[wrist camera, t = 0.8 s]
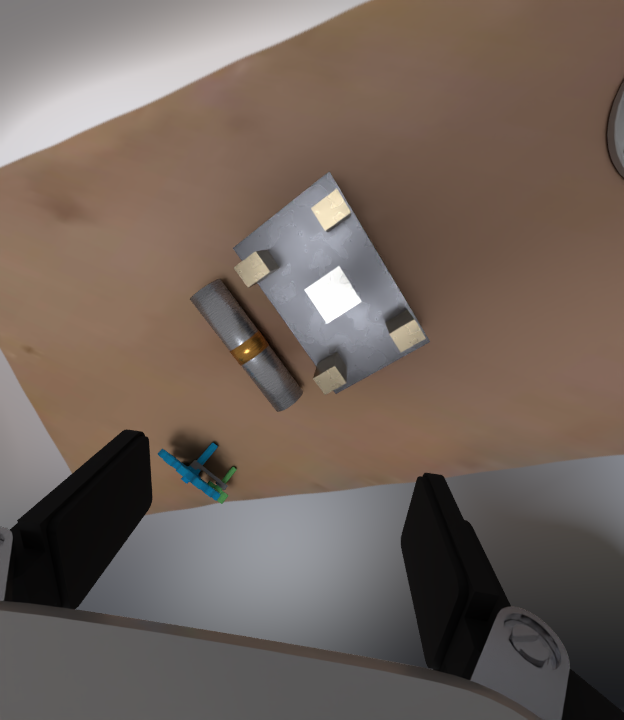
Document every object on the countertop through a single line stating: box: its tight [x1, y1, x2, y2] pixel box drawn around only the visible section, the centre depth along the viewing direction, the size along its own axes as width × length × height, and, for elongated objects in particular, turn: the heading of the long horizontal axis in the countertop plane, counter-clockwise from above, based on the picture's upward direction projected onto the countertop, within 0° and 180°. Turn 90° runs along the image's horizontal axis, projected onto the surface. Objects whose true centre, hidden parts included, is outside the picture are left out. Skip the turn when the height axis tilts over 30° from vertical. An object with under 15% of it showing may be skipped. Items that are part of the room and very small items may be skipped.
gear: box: [158, 442, 236, 504], centre depth 44 cm, size 11×6×10 cm
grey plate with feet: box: [233, 172, 430, 395], centre depth 32 cm, size 11×18×9 cm, turn 35°
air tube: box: [190, 279, 303, 412], centre depth 37 cm, size 16×4×4 cm, turn 35°
